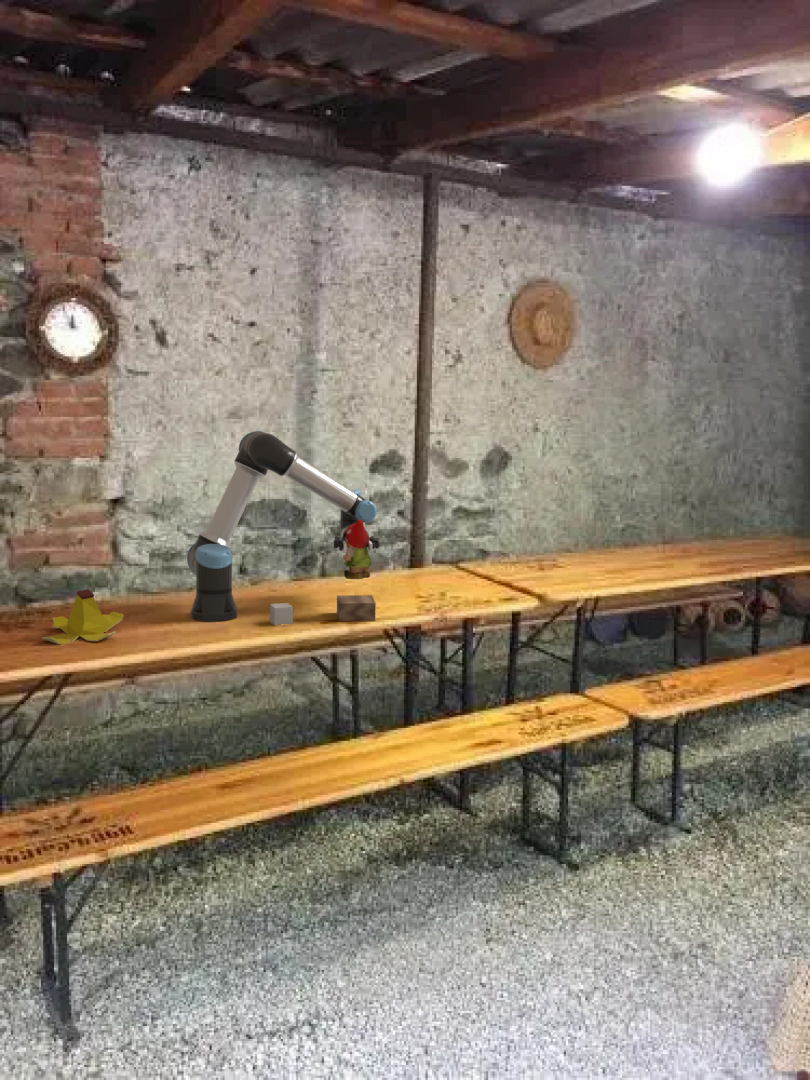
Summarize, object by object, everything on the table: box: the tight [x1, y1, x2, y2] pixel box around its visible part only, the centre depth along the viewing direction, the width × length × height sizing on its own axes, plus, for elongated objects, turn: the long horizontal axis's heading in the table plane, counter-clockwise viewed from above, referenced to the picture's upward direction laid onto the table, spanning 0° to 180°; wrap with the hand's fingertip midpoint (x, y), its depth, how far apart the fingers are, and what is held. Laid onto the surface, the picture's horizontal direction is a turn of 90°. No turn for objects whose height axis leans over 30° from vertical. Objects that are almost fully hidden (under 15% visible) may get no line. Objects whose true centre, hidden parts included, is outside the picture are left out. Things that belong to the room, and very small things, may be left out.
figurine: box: [343, 520, 373, 580], centre depth 326 cm, size 11×9×20 cm
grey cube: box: [269, 602, 294, 626], centre depth 318 cm, size 6×6×6 cm
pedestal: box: [336, 594, 377, 622], centre depth 330 cm, size 12×12×6 cm
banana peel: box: [41, 589, 124, 645], centre depth 297 cm, size 25×27×15 cm
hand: (358, 548), depth 322 cm, fingers closed on figurine, 8 cm apart
